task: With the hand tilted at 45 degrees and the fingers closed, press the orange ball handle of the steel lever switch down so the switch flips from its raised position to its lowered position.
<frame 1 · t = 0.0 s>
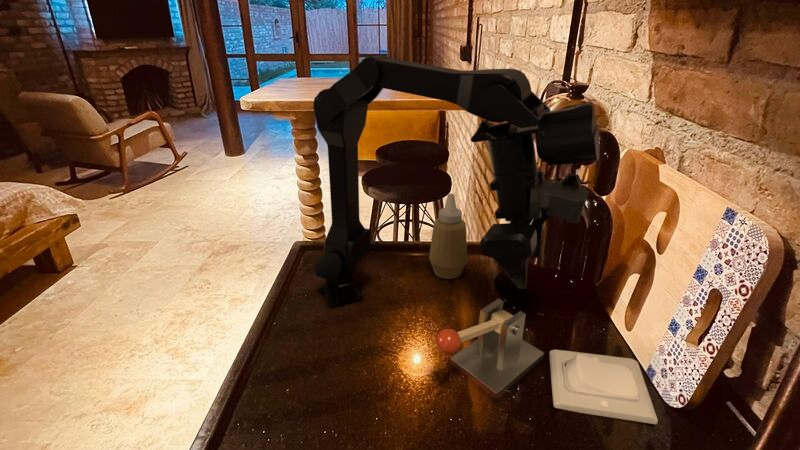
hand: (529, 271, 59), 15 cm above the kitchen counter, tool pointing down, fingers open, 9 cm apart
squeeze bottle: (447, 273, 88), on the kitchen counter
light switch: (596, 388, 60), on the kitchen counter
lever: (476, 331, 57), point 10 cm above the kitchen counter, hinge at 15.0°
bracket: (496, 361, 64), on the kitchen counter
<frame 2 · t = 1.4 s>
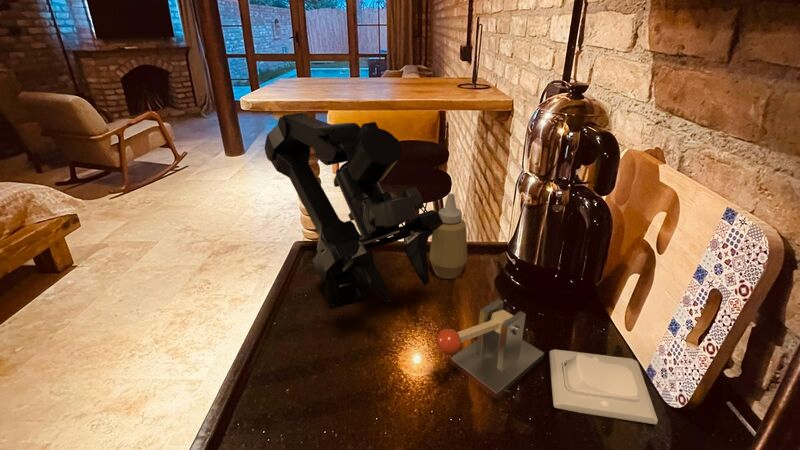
hand: (408, 292, 58), 13 cm above the kitchen counter, tool tilted 45°, fingers open, 7 cm apart
nothing on the kitchen counter moved.
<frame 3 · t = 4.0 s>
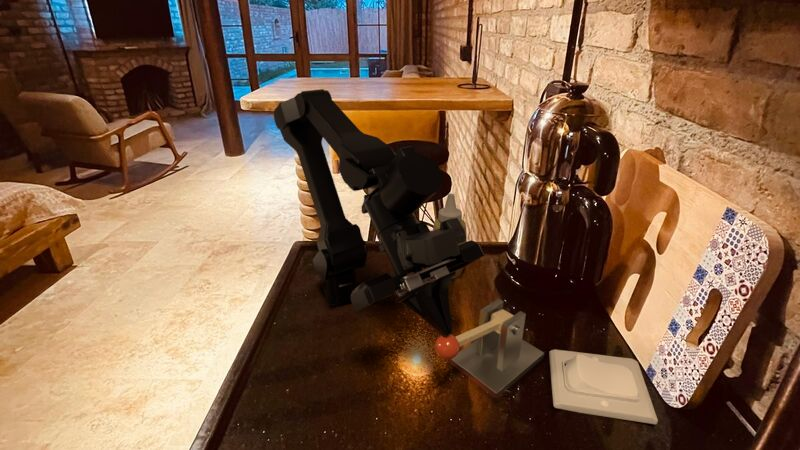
hand: (447, 335, 52), 12 cm above the kitchen counter, tool tilted 45°, fingers closed
lever: (475, 333, 57), point 9 cm above the kitchen counter, hinge at 11.2°, touching gripper
everything else where it was.
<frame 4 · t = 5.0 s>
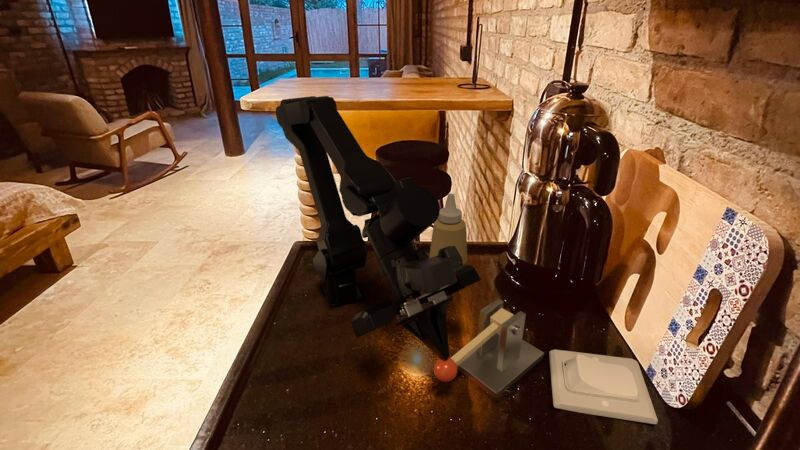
hand: (445, 358, 54), 8 cm above the kitchen counter, tool tilted 45°, fingers closed, pressing on lever
lever: (474, 344, 58), point 7 cm above the kitchen counter, hinge at -7.7°, touching gripper
everything else where it was.
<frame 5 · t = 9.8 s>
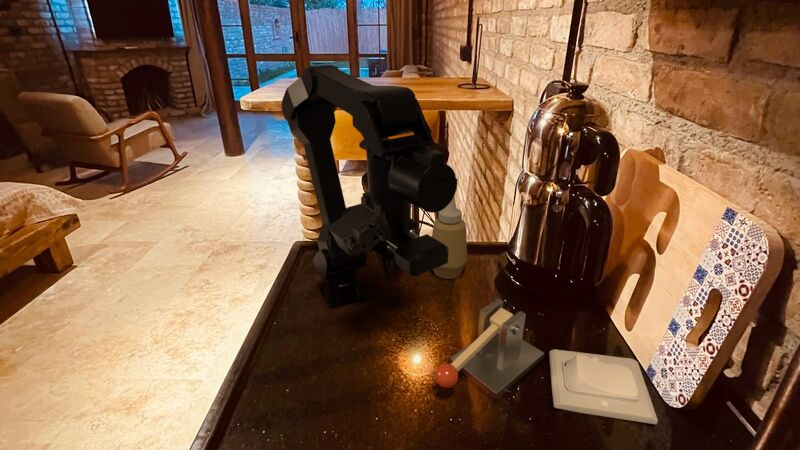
hand: (392, 283, 61), 13 cm above the kitchen counter, tool pointing down, fingers closed
lever: (474, 347, 58), point 7 cm above the kitchen counter, hinge at -14.2°
everything else where it was.
at the end: lever at -14° (first picture: +15°); light switch moved 1.0 cm from its start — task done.
